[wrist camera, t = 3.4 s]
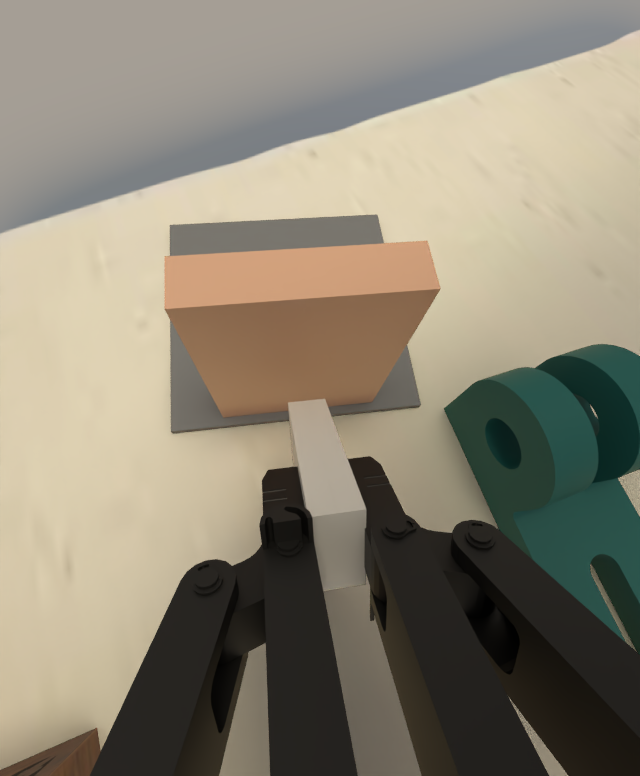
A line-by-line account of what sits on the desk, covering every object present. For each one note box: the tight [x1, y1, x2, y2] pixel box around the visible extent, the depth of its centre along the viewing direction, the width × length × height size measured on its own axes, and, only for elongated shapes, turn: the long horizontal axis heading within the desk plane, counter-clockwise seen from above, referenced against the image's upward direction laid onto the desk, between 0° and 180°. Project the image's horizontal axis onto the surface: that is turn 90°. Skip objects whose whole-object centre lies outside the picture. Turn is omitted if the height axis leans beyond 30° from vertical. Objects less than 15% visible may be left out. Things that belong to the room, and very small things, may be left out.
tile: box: [165, 241, 440, 418], centre depth 19 cm, size 9×2×12 cm, turn 97°
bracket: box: [444, 344, 640, 655], centre depth 20 cm, size 18×7×8 cm, turn 19°
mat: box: [170, 215, 421, 433], centre depth 27 cm, size 15×15×1 cm
